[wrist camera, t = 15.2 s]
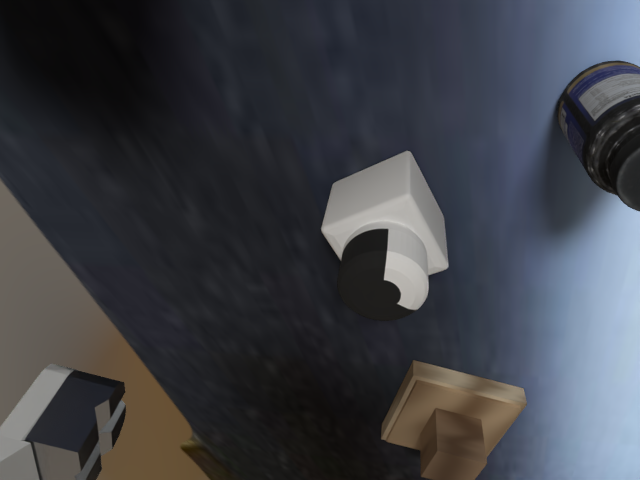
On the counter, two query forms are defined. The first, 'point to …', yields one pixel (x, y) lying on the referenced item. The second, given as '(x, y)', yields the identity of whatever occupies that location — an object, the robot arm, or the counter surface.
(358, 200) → the medicine bottle
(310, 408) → the counter surface
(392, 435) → the square wooden base
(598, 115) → the pill bottle
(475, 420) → the cube
